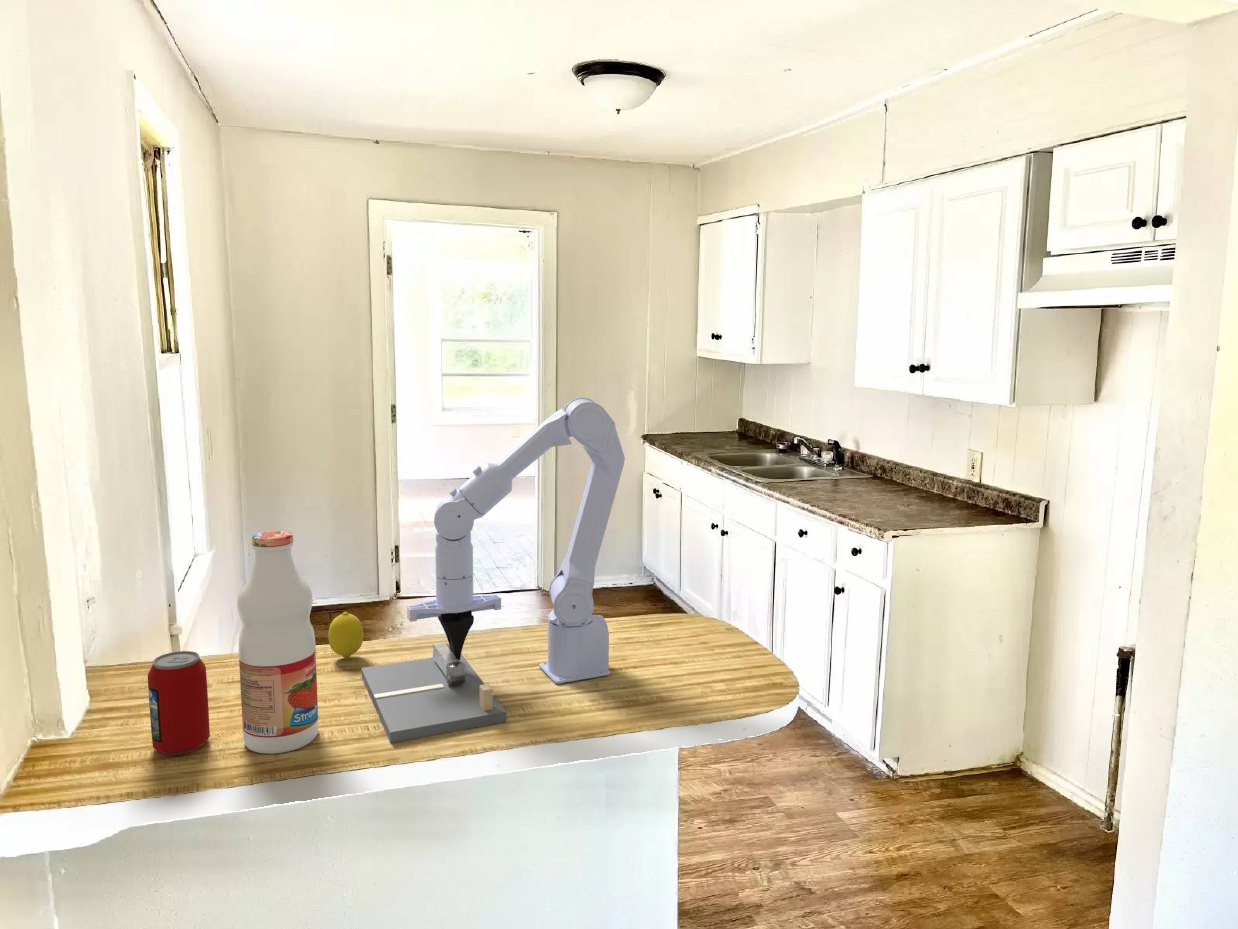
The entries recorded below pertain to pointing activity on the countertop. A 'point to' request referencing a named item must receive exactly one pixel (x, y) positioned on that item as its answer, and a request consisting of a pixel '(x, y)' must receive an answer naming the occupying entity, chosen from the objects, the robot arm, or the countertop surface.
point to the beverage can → (178, 702)
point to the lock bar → (449, 664)
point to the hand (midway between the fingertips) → (455, 658)
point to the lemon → (345, 635)
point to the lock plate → (429, 699)
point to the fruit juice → (277, 651)
